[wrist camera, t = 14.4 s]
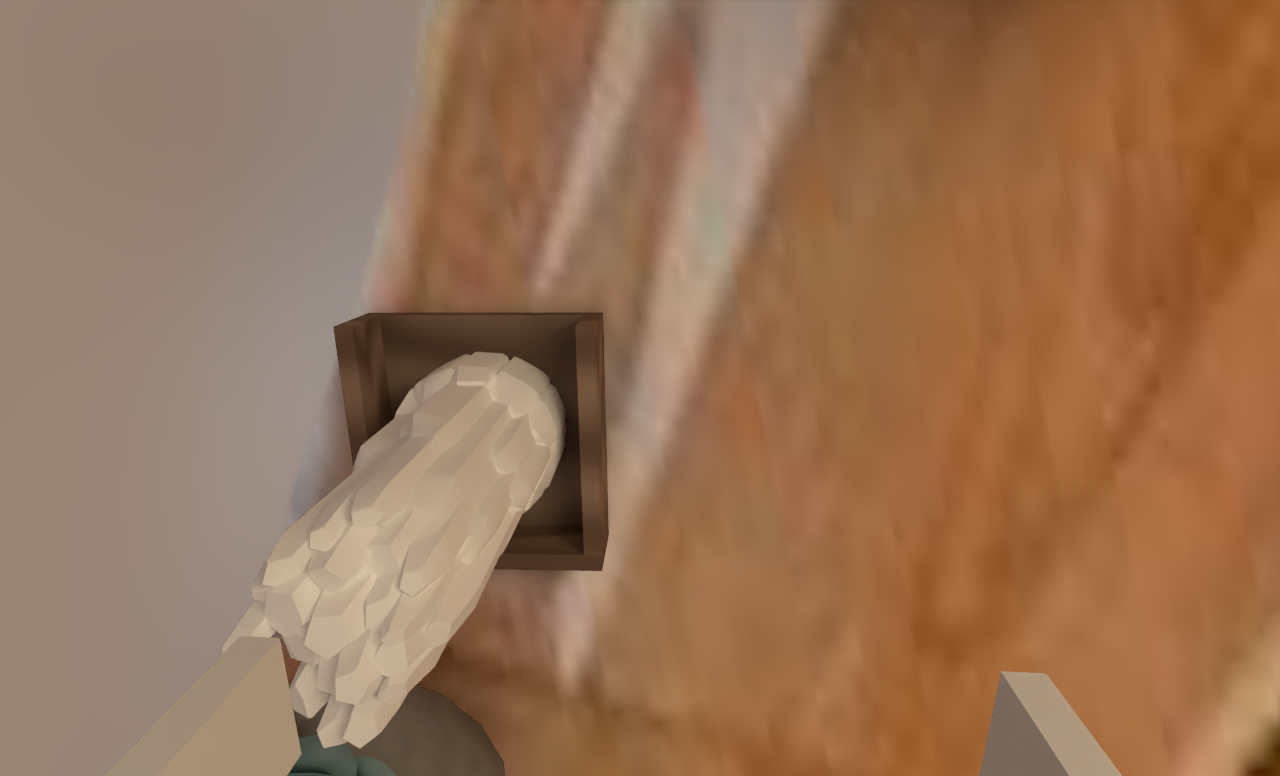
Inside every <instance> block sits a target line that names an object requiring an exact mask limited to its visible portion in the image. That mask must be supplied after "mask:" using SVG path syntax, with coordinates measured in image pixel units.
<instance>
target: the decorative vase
mask: <svg viewBox="0 0 1280 776" xmlns="http://www.w3.org/2000/svg"><path fill="white" fill-rule="evenodd" d="M565 420H566V411H565V407H564V404H563V402H562V400H561V397H560V395H559V393H558V390H557V388H556V387H555V386H553V385H551V384H550V378H549V377H548V376H547V375H546V374H545V373H544V372H543V371H541V370H540V369H538V368H537V367H535V366H533V365H531V364H529V363H527V362H526V361H524V360H522V359H520V358H518V357H513V358H512V359H511V360H510V361H509V358H508V356H506V355H504V354H503V353H490V352H475V353H473V354H472V355H469V354H465V355H462V356H460V357H458V358H456V359H454V360H452V361H450V362H447V363H446V364H444V365H442V366H441V367H439V368H437V369H436V370H434V371H433V372H432V373H430V374H429V375H427V376H426V377H425V378H423V379H422V380H421V381H419V382H418V383H417V384H416V385H415V387H414V388H412V389H411V390H410V391H409V392H408V394H407V395H406V397H405V399H404V400H403V402H402V403H401V405H400V407H399V408H398V410H397V411H396V414H395V418H394V419H393V420H392V421H391V422H389V423H388V424H387V425H386V426H385V427H383V428H382V429H381V430H380V431H378V432H377V433H376V434H375V435H373V436H372V437H371V438H370V439H368V440H367V441H366V442H365V443H364V444H363V445H361V447H360V449H359V452H358V454H357V457H356V460H355V463H354V467H353V470H352V474H351V475H350V476H349V477H347V478H346V479H345V480H344V481H343V482H342V483H340V484H339V485H338V486H337V487H336V488H335V489H334V490H332V491H331V492H330V493H329V494H328V495H326V496H325V497H324V498H323V499H322V500H321V501H319V502H318V503H317V504H316V505H315V506H314V507H312V508H311V509H310V510H309V511H308V512H307V513H306V514H304V515H303V516H302V517H301V518H300V519H299V520H297V521H296V522H295V523H294V524H293V525H292V526H291V527H289V528H288V529H287V530H286V531H285V532H284V533H283V534H282V536H281V537H280V539H279V541H278V542H277V544H276V546H275V548H274V550H273V551H272V553H271V555H270V557H269V559H268V560H267V561H266V562H265V563H264V564H263V566H262V568H261V570H260V572H259V574H258V576H257V578H256V580H255V582H254V584H253V586H252V588H251V593H252V598H253V600H255V601H254V603H253V604H252V605H251V607H250V608H249V609H248V611H247V612H246V613H245V615H244V616H243V617H242V618H241V620H240V621H239V622H238V624H237V625H236V627H235V628H234V629H233V631H232V632H231V634H230V635H229V637H228V638H227V640H226V641H225V643H224V644H223V646H222V647H221V650H222V654H223V653H224V652H225V651H226V650H227V649H228V648H229V647H230V646H231V645H232V644H233V643H234V642H235V641H236V640H237V639H238V638H239V637H240V636H249V637H271V636H272V635H273V634H274V633H275V632H276V631H278V632H279V633H280V634H281V636H282V638H283V640H284V643H285V645H286V647H287V650H288V652H289V654H290V657H291V659H292V658H295V659H296V660H298V661H302V662H301V664H300V666H299V667H298V670H297V672H296V674H295V676H294V679H293V681H292V683H291V685H290V688H289V690H290V695H291V701H292V705H293V709H294V710H295V711H296V712H298V713H300V714H302V715H303V716H305V717H307V718H312V717H313V716H314V715H315V714H316V713H317V712H318V711H319V710H320V709H321V708H322V707H323V706H324V705H325V704H326V703H327V702H328V704H327V706H326V709H325V711H324V714H323V716H322V719H321V721H320V724H319V726H318V728H317V733H318V736H319V739H320V741H321V744H322V746H323V748H328V747H332V746H336V745H340V744H344V743H346V742H349V743H351V744H353V745H354V746H356V747H358V748H362V747H363V746H364V745H366V744H367V743H368V742H370V741H371V740H372V739H374V738H375V737H376V736H377V735H379V734H380V733H381V732H382V731H383V729H384V728H385V726H386V725H387V724H388V722H389V721H390V720H391V718H392V717H393V716H394V714H395V713H396V712H397V710H398V709H399V708H400V706H401V704H402V703H403V701H404V699H405V698H406V696H407V694H408V692H409V691H410V690H411V689H412V688H413V687H414V686H415V685H416V684H417V683H418V682H419V681H421V680H422V679H423V678H424V677H425V676H426V675H427V674H428V673H429V672H430V671H431V670H432V669H433V668H434V667H435V665H436V663H437V662H438V660H439V658H440V656H441V654H442V652H443V650H444V648H445V646H446V644H447V643H448V641H449V640H450V639H451V637H452V636H453V635H454V634H455V632H456V631H457V630H458V629H459V627H460V626H461V625H462V624H463V623H464V621H465V620H466V619H467V618H468V616H469V615H470V614H471V613H472V611H473V610H474V609H475V607H476V605H477V603H478V601H479V598H480V596H481V594H482V592H483V590H484V588H485V586H486V584H487V582H488V580H489V578H490V576H491V573H492V571H493V569H494V567H495V565H496V563H497V561H498V559H499V557H500V555H502V553H503V552H504V550H505V548H506V546H507V545H508V543H509V541H510V539H511V537H512V535H513V533H514V531H515V528H516V526H517V524H518V522H519V520H520V518H521V516H522V514H523V513H525V512H526V511H528V510H529V509H530V508H531V507H532V506H533V504H534V503H535V502H536V501H537V500H538V499H539V498H540V497H541V496H542V494H543V492H544V490H545V489H546V488H547V487H549V485H550V483H551V480H552V478H553V476H554V473H555V471H556V468H557V466H558V464H559V461H560V458H561V456H562V453H563V450H564V447H565V438H566V427H567V423H566V422H565Z"/></svg>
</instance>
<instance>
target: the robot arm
mask: <svg viewBox="0 0 1280 776" xmlns="http://www.w3.org/2000/svg"><path fill="white" fill-rule="evenodd" d="M300 755H301V748H300V743H299V738H298V733H297V727H296V722H295V717H294V711H293V706H292V701H291V695H290V690H289V685H288V679H287V674H286V669H285V663H284V658H283V653H282V647H281V642H280V638H271V637H249V636H240V637H239V638H238V639H237V640H236V641H235V642H234V643H233V644H232V645H231V646H230V647H229V648H228V649H227V650H226V651H225V652H224V653H223V654H222V655H221V656H220V657H219V658H218V660H217V661H216V662H215V663H214V664H213V665H212V666H211V667H210V668H209V669H208V670H207V671H206V672H205V673H204V674H203V675H202V676H201V677H200V678H199V679H198V680H197V681H196V682H195V683H194V684H193V685H192V686H191V687H190V688H189V689H188V690H187V691H186V692H185V694H184V695H182V696H181V698H180V699H179V700H178V701H177V702H176V703H175V704H174V705H173V706H172V707H171V708H170V709H169V710H168V711H167V712H166V713H165V714H164V715H163V716H162V717H161V718H160V719H159V720H158V721H157V722H156V723H155V724H154V725H153V726H152V727H151V728H150V729H149V731H147V732H146V734H144V736H143V737H142V738H141V739H140V740H139V741H138V742H137V743H136V744H135V745H134V746H133V747H132V748H131V749H130V750H129V751H128V752H127V753H126V754H125V755H124V756H123V757H122V758H121V759H120V760H119V761H118V762H117V763H116V764H115V765H114V766H113V767H112V768H111V769H110V771H108V773H107V774H106V775H105V776H287V775H288V774H289V772H290V771H291V769H292V767H293V766H294V764H295V763H296V761H297V760H298V758H299V757H300ZM980 776H1122V775H1121V774H1120V773H1119V771H1118V770H1117V769H1116V767H1115V766H1114V765H1113V763H1112V762H1111V761H1110V759H1109V758H1108V756H1107V755H1106V754H1105V752H1104V751H1103V750H1102V748H1101V747H1100V746H1099V744H1098V743H1097V742H1096V740H1095V739H1094V738H1093V736H1092V735H1091V734H1090V732H1089V731H1088V730H1087V728H1086V727H1085V725H1084V724H1083V723H1082V721H1081V720H1080V719H1079V717H1078V716H1077V715H1076V713H1075V712H1074V711H1073V709H1072V708H1071V707H1070V705H1069V704H1068V703H1067V701H1066V700H1065V699H1064V697H1063V696H1062V694H1061V693H1060V692H1059V690H1058V689H1057V688H1056V686H1055V685H1054V684H1053V682H1052V681H1051V680H1050V678H1049V677H1048V676H1047V674H1044V673H1023V672H1001V674H1000V679H999V684H998V689H997V694H996V698H995V703H994V708H993V713H992V718H991V723H990V728H989V732H988V737H987V742H986V747H985V752H984V757H983V761H982V766H981V771H980Z"/></svg>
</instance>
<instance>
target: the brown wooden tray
mask: <svg viewBox="0 0 1280 776" xmlns="http://www.w3.org/2000/svg"><path fill="white" fill-rule="evenodd" d="M334 334H335V341H336V348H337V355H338V362H339V369H340V376H341V383H342V390H343V397H344V404H345V411H346V418H347V425H348V432H349V439H350V446H351V453H352V460H353V467H354V463H355V460H356V457H357V454H358V452H359V449H360V447H361V445H363V444H364V443H365V442H366V441H367V440H368V439H370V438H371V437H372V436H373V435H375V434H376V433H377V432H378V431H380V430H381V429H382V428H383V427H385V426H386V425H387V424H388V423H389V422H391V421H392V420H393V419H394V418H395V414H396V411H397V410H398V408H399V407H400V405H401V403H402V402H403V400H404V399H405V397H406V395H407V394H408V392H409V391H410V390H411V389H412V388H414V387H415V385H416V384H417V383H418V382H419V381H421V380H422V379H423V378H425V377H426V376H427V375H429V374H430V373H432V372H433V371H434V370H436V369H437V368H439V367H441V366H442V365H444V364H446V363H447V362H450V361H452V360H454V359H456V358H458V357H460V356H462V355H465V354H469V355H472V354H473V353H475V352H490V353H503V354H504V355H506V356H508V358H509V361H510V360H511V359H512V358H513V357H518V358H520V359H522V360H524V361H526V362H527V363H529V364H531V365H533V366H535V367H537V368H538V369H540V370H541V371H543V372H544V373H545V374H546V375H547V376H548V377H549V378H550V384H551V385H553V386H555V387H556V388H557V390H558V393H559V395H560V397H561V400H562V402H563V404H564V407H565V411H566V420H565V422H566V423H567V427H566V438H565V447H564V450H563V453H562V456H561V458H560V461H559V464H558V466H557V468H556V471H555V473H554V476H553V478H552V480H551V483H550V485H549V487H547V488H546V489H545V490H544V492H543V494H542V496H541V497H540V498H539V499H538V500H537V501H536V502H535V503H534V504H533V506H532V507H531V508H530V509H529V510H528V511H526V512H525V513H523V514H522V516H521V518H520V520H519V522H518V524H517V526H516V528H515V531H514V533H513V535H512V537H511V539H510V541H509V543H508V545H507V546H506V548H505V550H504V552H503V553H502V555H500V557H499V559H498V561H497V563H496V565H495V567H494V569H521V570H581V571H602V568H603V562H604V557H605V552H606V546H607V541H608V535H609V530H608V492H607V453H606V415H605V376H604V338H603V313H368V314H365V315H363V316H360V317H357V318H355V319H352V320H350V321H347V322H345V323H342V324H339V325H337V326H334Z"/></svg>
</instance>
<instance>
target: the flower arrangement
mask: <svg viewBox="0 0 1280 776" xmlns="http://www.w3.org/2000/svg"><path fill="white" fill-rule="evenodd" d="M327 704H328V702H327V703H326V704H325V705H324V706H323V707H322V708H321V709H320V710H319V711H318V712H317V713H316V714H315V715H314V716H313V717H312V718H307V717H305V716H303V715H302V714H300V713H298V712H296V711H295V710H294V709H293V711H294V717H295V722H296V727H297V733H298V738H299V743H300V748H301V755H300V757H299V758H298V760H297V761H296V763H295V764H294V766H293V767H292V769H291V771H290V772H289V774H288V775H287V776H505V770H504V762H503V760H502V758H501V757H500V755H499V754H498V752H497V750H496V749H495V747H494V745H493V744H492V742H491V740H490V739H489V737H488V736H487V734H486V732H485V731H484V729H483V727H482V726H481V724H480V723H478V722H477V721H476V720H474V719H473V718H472V717H470V716H469V715H468V714H466V713H465V712H464V711H463V710H461V709H460V708H459V707H457V706H456V705H455V704H453V703H452V702H451V701H449V700H448V699H447V698H445V697H444V696H443V695H442V694H439V693H436V692H433V691H430V690H427V689H424V688H421V687H418V686H416V685H415V686H414V687H413V688H412V689H411V690H410V691H409V692H408V694H407V696H406V698H405V699H404V701H403V703H402V704H401V706H400V708H399V709H398V710H397V712H396V713H395V714H394V716H393V717H392V718H391V720H390V721H389V722H388V724H387V725H386V726H385V728H384V729H383V731H382V732H381V733H380V734H379V735H377V736H376V737H375V738H374V739H372V740H371V741H370V742H368V743H367V744H366V745H364V746H363V747H362V748H358V747H356V746H354V745H353V744H351V743H349V742H346V743H344V744H340V745H336V746H332V747H328V748H323V746H322V744H321V741H320V739H319V736H318V733H317V728H318V726H319V724H320V721H321V719H322V716H323V714H324V711H325V709H326V706H327ZM292 706H293V705H292Z"/></svg>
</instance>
